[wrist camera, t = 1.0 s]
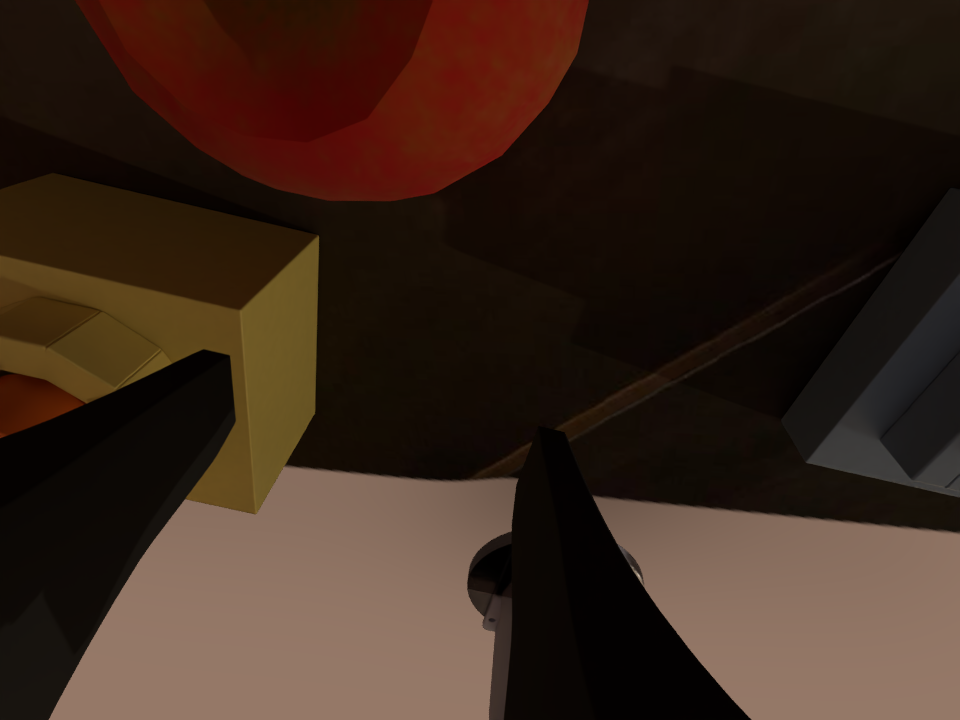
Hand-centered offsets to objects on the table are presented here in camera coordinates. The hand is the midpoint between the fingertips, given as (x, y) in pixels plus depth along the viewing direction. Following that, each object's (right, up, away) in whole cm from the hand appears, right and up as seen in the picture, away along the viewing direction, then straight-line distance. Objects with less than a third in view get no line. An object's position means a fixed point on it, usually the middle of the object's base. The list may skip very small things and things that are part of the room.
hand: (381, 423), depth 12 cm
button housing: (-9, +4, +9) cm, 14 cm away
